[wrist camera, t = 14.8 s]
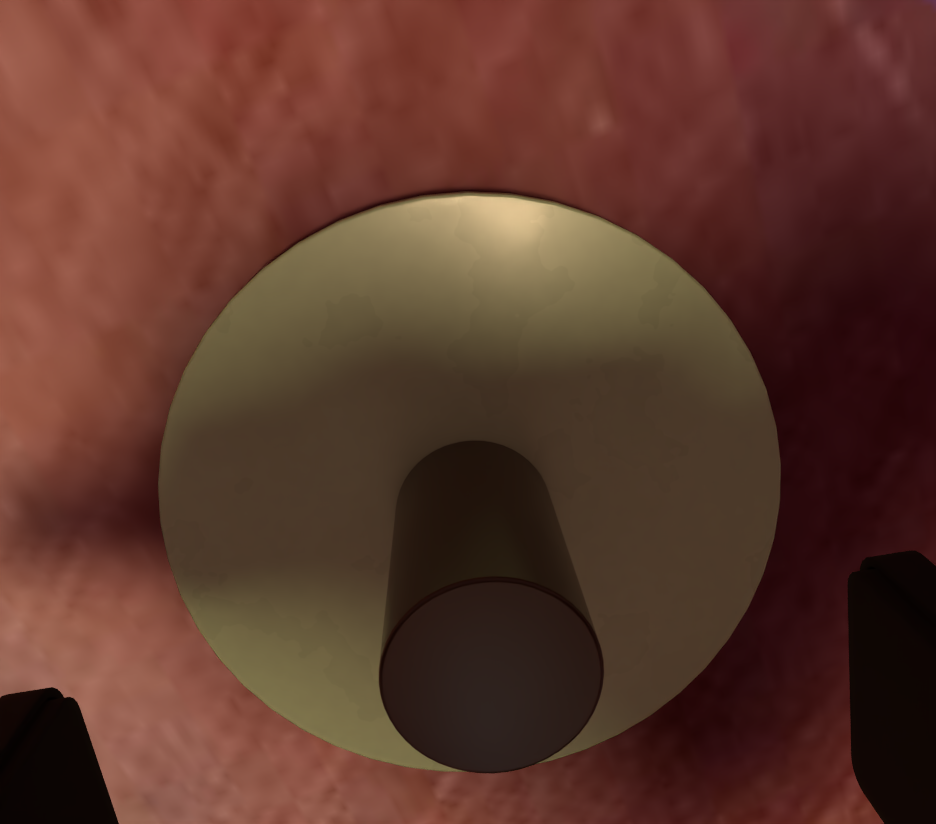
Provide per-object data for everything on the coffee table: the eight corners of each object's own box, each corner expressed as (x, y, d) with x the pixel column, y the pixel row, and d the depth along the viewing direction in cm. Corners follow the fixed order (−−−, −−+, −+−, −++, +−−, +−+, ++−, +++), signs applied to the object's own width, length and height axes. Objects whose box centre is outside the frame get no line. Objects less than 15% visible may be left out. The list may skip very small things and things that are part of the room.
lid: (744, 142, 16) (947, 137, 10) (774, 695, 19) (938, 958, 13) (102, 244, 16) (-112, 305, 10) (248, 776, 20) (159, 1074, 13)
